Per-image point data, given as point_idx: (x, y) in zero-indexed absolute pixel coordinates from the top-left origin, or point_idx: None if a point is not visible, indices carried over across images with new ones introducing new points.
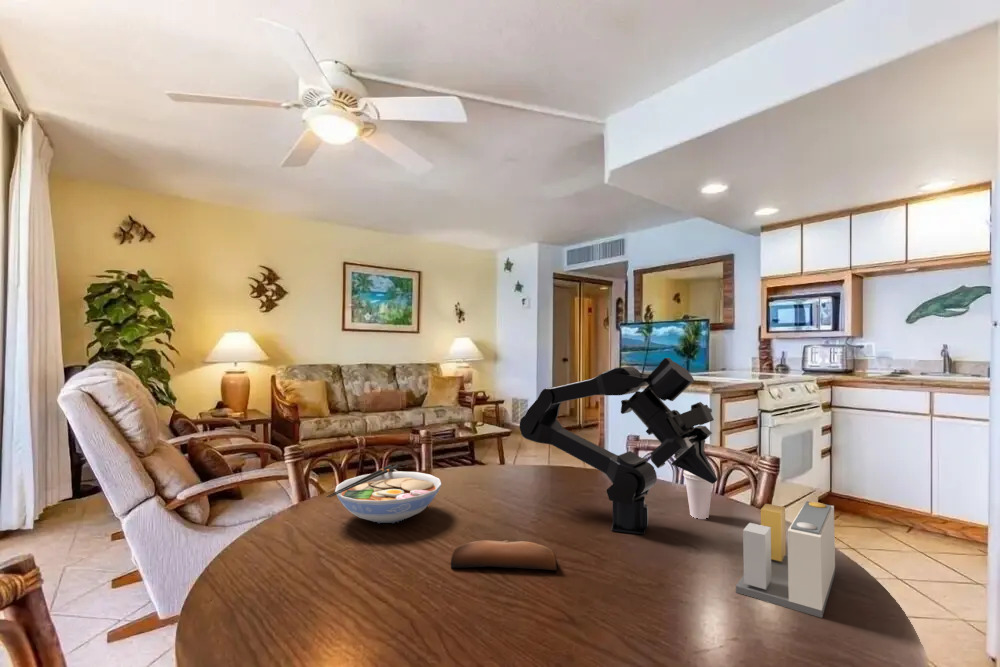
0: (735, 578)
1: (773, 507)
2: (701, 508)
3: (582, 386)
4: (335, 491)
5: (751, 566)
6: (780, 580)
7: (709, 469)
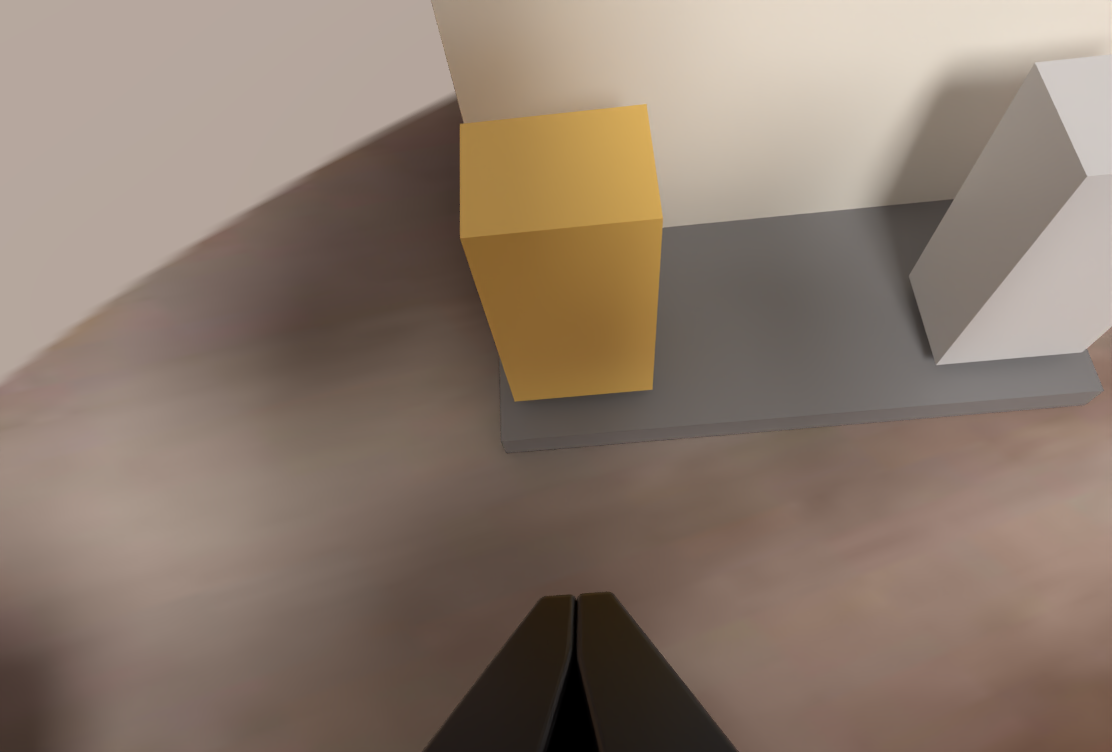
0: (924, 460)
1: (529, 172)
2: None
3: None
4: None
5: None
6: (840, 265)
7: (618, 696)
